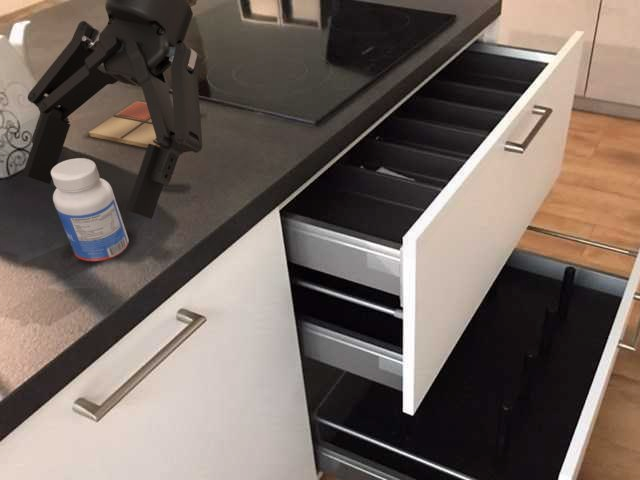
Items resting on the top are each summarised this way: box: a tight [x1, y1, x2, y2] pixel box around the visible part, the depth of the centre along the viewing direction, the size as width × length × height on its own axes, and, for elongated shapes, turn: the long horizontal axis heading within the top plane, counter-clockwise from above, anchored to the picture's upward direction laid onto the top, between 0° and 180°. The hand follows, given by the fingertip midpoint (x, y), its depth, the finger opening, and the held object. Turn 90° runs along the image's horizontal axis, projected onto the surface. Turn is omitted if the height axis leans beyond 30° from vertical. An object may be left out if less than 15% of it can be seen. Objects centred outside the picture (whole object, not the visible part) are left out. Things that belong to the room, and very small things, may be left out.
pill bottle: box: [51, 157, 130, 262], centre depth 65 cm, size 6×5×10 cm
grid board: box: [88, 100, 160, 149], centre depth 88 cm, size 10×10×1 cm
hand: (85, 196), depth 64 cm, fingers open, 13 cm apart
